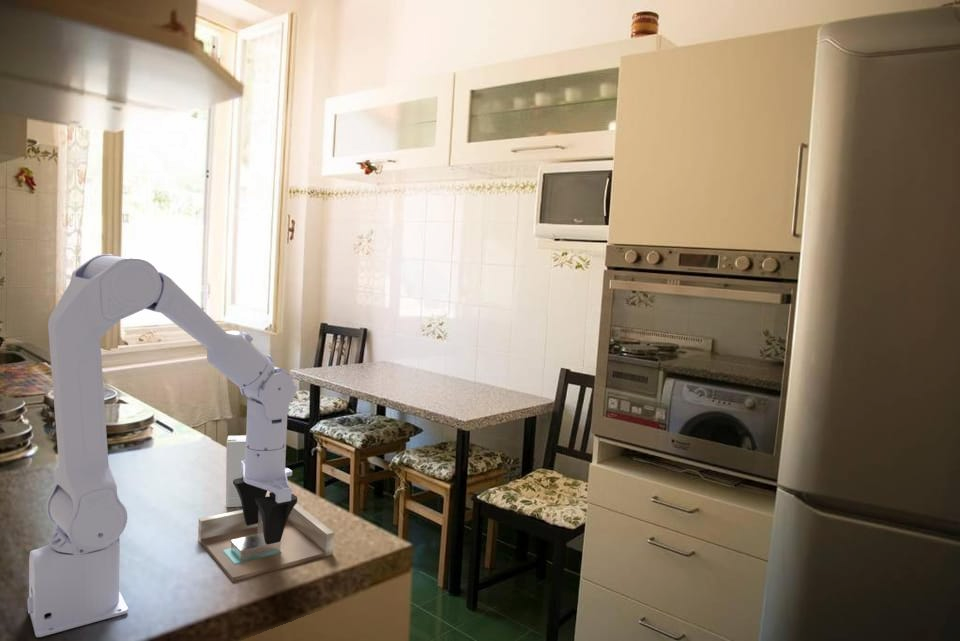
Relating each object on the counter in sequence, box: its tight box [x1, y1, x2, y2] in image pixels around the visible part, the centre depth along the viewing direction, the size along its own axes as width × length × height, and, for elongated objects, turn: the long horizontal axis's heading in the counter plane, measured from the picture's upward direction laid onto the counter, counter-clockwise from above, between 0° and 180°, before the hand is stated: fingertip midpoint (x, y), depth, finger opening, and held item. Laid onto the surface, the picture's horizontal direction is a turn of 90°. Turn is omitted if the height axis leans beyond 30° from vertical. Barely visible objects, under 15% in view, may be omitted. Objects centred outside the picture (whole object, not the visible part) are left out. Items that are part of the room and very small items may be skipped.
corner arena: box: [197, 502, 335, 583], centre depth 99 cm, size 15×15×4 cm
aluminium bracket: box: [231, 509, 281, 561], centre depth 96 cm, size 4×6×6 cm, turn 131°
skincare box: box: [225, 434, 246, 508], centre depth 115 cm, size 6×4×12 cm
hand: (262, 532), depth 97 cm, fingers open, 7 cm apart
